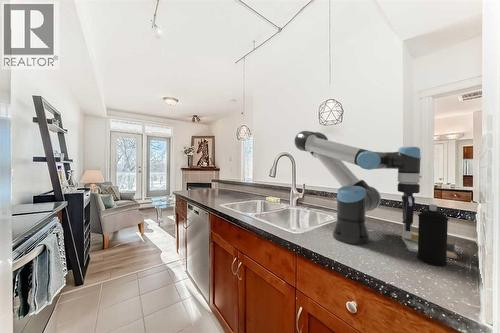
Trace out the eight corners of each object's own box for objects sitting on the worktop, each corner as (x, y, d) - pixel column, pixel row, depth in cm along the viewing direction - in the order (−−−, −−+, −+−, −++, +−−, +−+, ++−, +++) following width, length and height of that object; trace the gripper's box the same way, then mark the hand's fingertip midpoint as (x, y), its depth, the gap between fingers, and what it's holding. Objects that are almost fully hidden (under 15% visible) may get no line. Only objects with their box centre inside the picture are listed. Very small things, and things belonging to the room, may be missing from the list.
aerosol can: (454, 267, 69) (455, 207, 68) (426, 265, 70) (427, 206, 70) (436, 256, 77) (438, 202, 77) (411, 254, 79) (413, 202, 78)
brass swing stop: (401, 237, 92) (401, 229, 92) (407, 236, 94) (407, 228, 94) (429, 246, 83) (429, 237, 82) (435, 245, 84) (435, 236, 84)
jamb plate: (409, 250, 82) (409, 248, 82) (401, 238, 95) (401, 236, 95) (432, 254, 79) (432, 252, 78) (421, 241, 92) (421, 238, 92)
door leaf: (432, 254, 79) (432, 245, 78) (421, 241, 92) (421, 233, 92) (459, 259, 75) (460, 249, 75) (444, 244, 88) (444, 236, 88)
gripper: (423, 185, 81) (421, 244, 82) (416, 182, 93) (415, 234, 93) (399, 183, 85) (398, 241, 85) (395, 181, 96) (394, 231, 97)
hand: (407, 237), depth 89 cm, fingers closed
